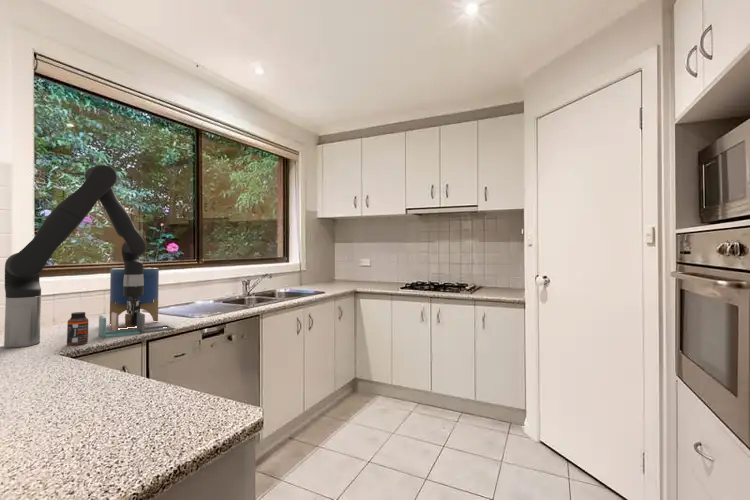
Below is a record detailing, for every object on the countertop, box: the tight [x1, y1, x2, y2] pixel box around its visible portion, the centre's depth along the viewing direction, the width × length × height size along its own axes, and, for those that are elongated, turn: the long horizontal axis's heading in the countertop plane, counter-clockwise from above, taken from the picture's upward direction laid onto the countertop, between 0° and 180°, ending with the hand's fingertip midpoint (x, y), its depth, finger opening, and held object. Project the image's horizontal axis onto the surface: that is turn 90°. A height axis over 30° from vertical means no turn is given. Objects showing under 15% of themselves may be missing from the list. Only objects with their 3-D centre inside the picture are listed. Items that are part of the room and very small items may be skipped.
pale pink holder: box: [110, 311, 150, 331], centre depth 159 cm, size 12×9×8 cm
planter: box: [109, 267, 160, 325], centre depth 174 cm, size 19×19×26 cm
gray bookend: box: [137, 311, 175, 334], centre depth 157 cm, size 12×9×8 cm
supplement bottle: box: [66, 311, 89, 346], centre depth 133 cm, size 6×6×11 cm
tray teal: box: [98, 315, 140, 340], centre depth 148 cm, size 12×9×8 cm
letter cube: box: [124, 313, 137, 327], centre depth 160 cm, size 5×5×5 cm
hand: (133, 323), depth 160 cm, fingers closed on letter cube, 5 cm apart
